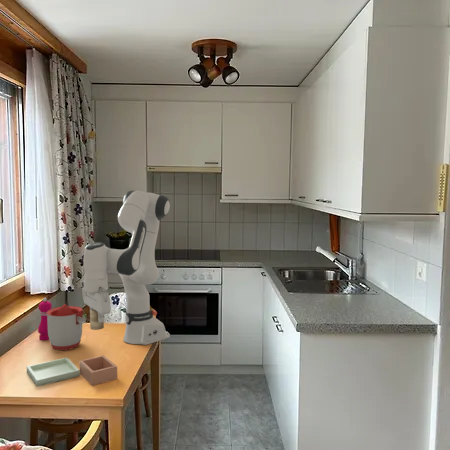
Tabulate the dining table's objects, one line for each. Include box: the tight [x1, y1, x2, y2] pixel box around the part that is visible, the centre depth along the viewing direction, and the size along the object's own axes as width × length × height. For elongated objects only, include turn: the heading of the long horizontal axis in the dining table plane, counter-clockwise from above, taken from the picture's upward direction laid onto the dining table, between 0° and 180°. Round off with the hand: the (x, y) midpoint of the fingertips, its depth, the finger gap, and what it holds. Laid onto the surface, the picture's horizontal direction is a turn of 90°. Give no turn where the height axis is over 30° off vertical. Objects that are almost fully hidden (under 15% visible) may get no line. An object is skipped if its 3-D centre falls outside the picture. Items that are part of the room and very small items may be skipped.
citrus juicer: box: [47, 303, 87, 351], centre depth 209 cm, size 16×17×20 cm
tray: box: [26, 357, 81, 387], centre depth 180 cm, size 16×16×2 cm
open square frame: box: [78, 355, 118, 386], centre depth 178 cm, size 10×14×5 cm
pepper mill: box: [37, 297, 53, 342], centre depth 219 cm, size 7×7×20 cm
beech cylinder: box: [89, 309, 105, 331], centre depth 176 cm, size 5×5×7 cm
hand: (97, 319), depth 176 cm, fingers closed on beech cylinder, 5 cm apart
